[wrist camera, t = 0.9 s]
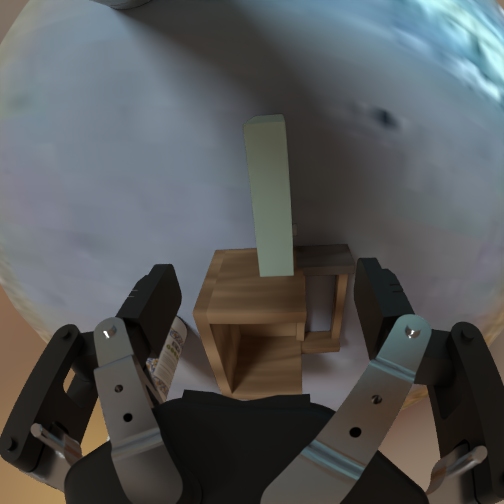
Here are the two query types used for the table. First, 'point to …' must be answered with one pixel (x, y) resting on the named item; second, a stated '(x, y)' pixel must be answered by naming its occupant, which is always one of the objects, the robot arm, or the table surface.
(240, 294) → the cabinet
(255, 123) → the block
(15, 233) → the table surface
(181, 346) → the bath foam
